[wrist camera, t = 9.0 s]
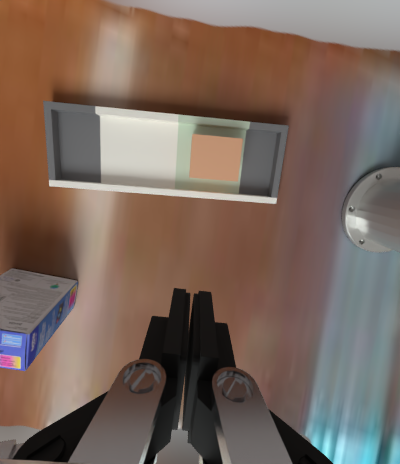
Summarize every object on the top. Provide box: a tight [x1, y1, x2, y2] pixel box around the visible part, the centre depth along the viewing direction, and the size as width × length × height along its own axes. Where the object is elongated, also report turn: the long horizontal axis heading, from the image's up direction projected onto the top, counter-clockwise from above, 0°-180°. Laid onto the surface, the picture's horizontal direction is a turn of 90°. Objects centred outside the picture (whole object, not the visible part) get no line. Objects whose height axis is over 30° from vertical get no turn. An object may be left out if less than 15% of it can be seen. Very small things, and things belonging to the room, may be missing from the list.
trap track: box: [43, 101, 289, 204], centre depth 32 cm, size 30×10×2 cm, turn 85°
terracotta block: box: [189, 134, 243, 182], centre depth 31 cm, size 6×5×4 cm
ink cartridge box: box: [0, 268, 78, 371], centre depth 30 cm, size 10×6×14 cm, turn 77°
